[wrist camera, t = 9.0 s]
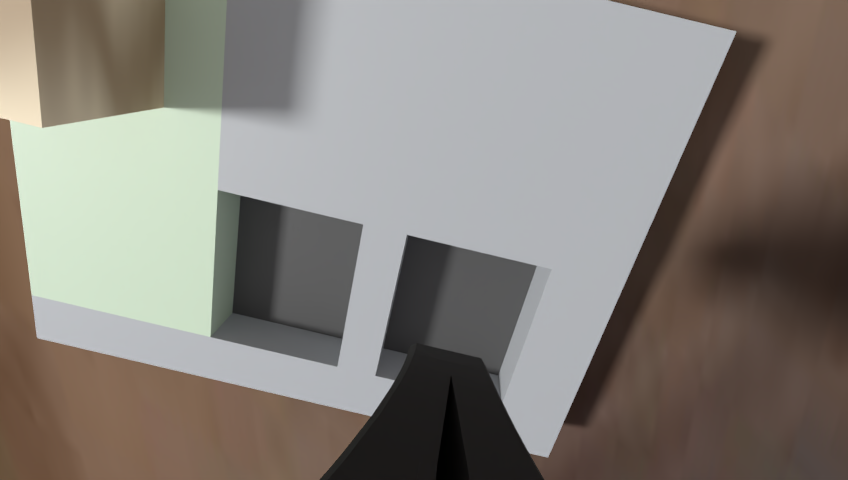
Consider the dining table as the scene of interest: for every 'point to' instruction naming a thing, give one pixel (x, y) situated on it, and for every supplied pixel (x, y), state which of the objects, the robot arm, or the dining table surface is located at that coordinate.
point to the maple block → (80, 59)
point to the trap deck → (369, 193)
